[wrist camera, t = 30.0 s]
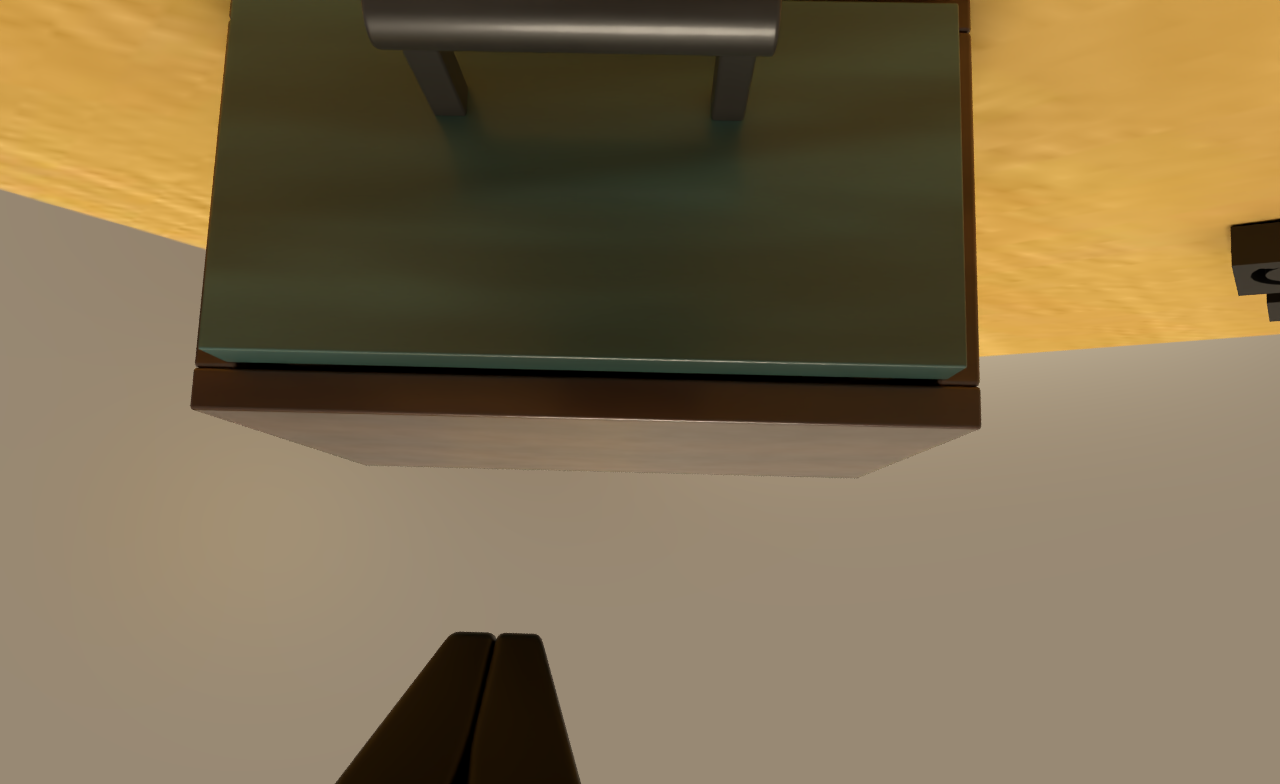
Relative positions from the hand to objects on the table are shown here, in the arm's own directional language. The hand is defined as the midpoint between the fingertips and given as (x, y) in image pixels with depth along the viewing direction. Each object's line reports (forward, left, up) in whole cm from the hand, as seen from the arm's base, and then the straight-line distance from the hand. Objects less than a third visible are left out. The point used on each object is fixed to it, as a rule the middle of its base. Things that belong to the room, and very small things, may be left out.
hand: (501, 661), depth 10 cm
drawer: (+8, +8, -11) cm, 15 cm away
